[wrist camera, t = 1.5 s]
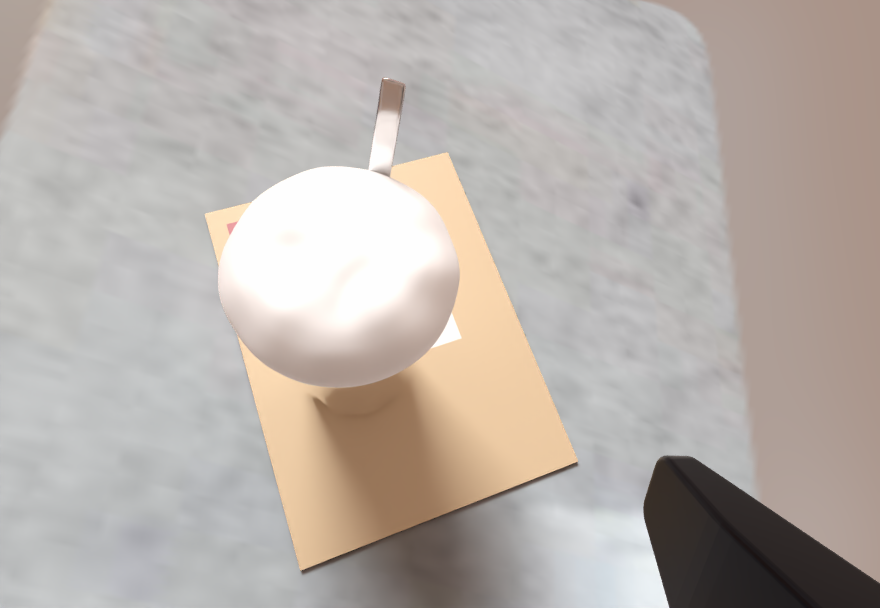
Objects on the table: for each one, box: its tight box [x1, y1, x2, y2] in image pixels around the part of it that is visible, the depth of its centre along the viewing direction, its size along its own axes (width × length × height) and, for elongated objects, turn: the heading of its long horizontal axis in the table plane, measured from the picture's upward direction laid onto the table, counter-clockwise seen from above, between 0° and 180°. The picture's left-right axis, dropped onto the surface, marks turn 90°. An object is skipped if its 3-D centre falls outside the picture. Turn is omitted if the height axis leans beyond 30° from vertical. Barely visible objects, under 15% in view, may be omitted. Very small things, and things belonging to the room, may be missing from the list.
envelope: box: [205, 152, 578, 571], centre depth 19 cm, size 12×9×1 cm
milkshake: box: [218, 77, 460, 416], centre depth 14 cm, size 4×5×10 cm
